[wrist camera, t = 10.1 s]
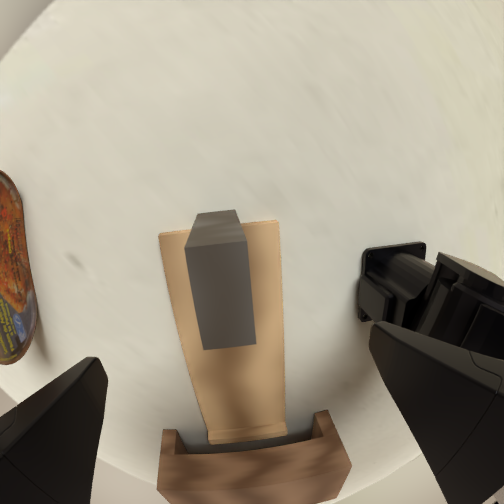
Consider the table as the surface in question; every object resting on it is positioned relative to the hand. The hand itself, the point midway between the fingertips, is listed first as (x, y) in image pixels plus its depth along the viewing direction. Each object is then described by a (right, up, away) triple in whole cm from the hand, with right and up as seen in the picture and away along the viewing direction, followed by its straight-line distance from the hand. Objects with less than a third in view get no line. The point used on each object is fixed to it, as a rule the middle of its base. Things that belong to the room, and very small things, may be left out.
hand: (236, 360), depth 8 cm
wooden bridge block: (0, -20, +19) cm, 27 cm away
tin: (-20, +3, +10) cm, 22 cm away
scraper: (-1, -5, +14) cm, 15 cm away
